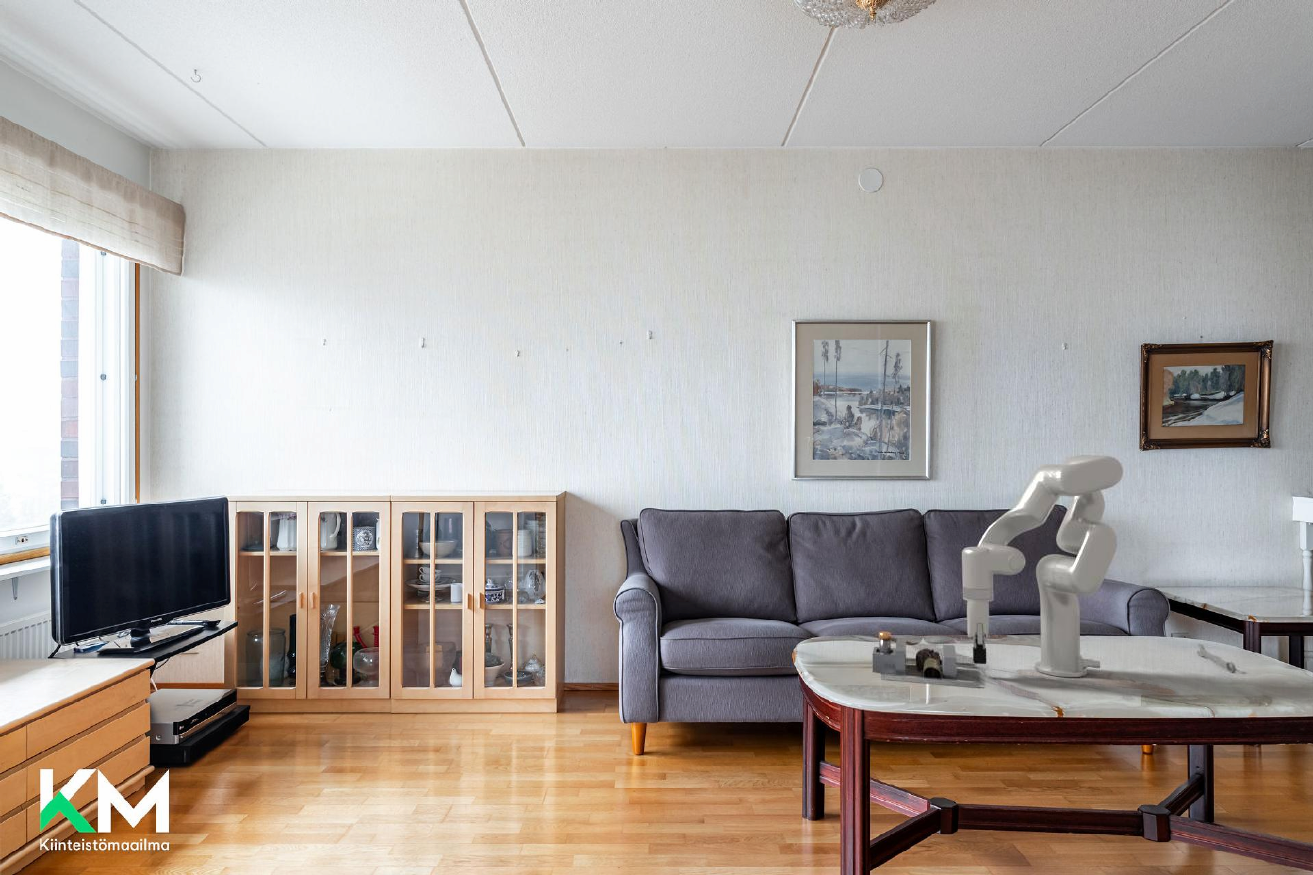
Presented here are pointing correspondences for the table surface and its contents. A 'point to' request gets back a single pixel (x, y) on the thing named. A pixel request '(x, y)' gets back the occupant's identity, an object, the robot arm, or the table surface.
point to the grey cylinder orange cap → (884, 642)
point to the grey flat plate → (933, 680)
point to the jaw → (949, 662)
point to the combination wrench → (1216, 659)
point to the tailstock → (891, 659)
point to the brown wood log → (929, 663)
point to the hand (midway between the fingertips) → (979, 662)
